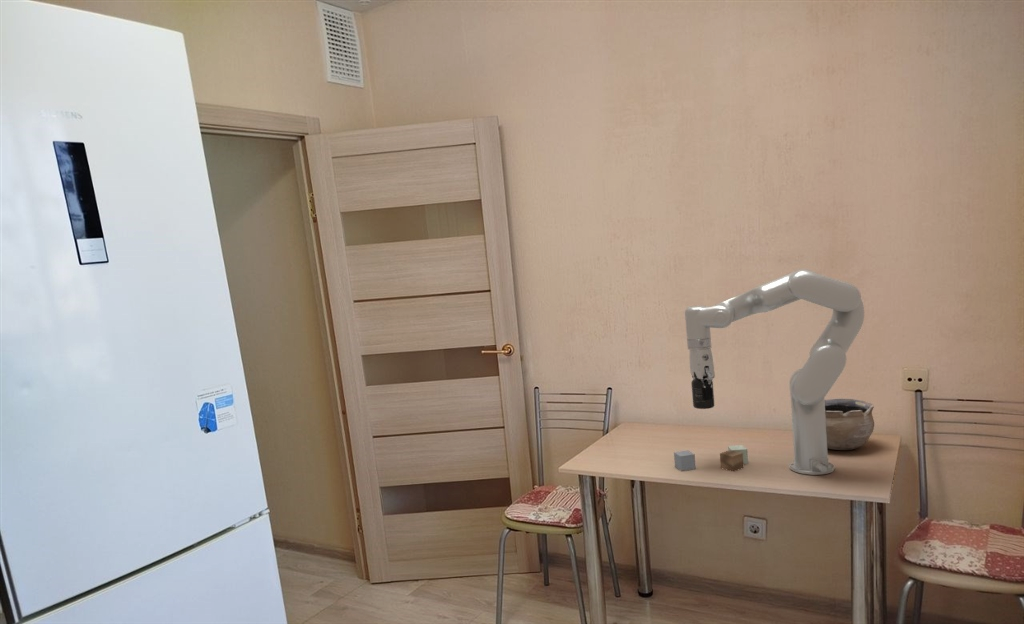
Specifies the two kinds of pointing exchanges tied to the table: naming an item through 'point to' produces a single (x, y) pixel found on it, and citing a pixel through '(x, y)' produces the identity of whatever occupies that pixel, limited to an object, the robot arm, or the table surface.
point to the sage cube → (740, 449)
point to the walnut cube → (731, 460)
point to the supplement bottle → (700, 395)
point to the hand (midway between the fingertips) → (703, 397)
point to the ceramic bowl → (848, 423)
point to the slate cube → (684, 460)
